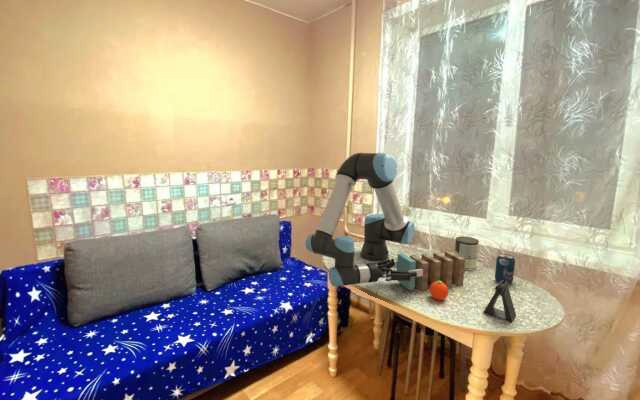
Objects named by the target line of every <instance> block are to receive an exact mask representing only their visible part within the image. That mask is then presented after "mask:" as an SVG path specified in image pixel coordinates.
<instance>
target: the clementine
mask: <svg viewBox="0 0 640 400" xmlns="http://www.w3.org/2000/svg"><path fill="white" fill-rule="evenodd" d="M448 288H449V287H447V286H446V285H445V284H444V283H443V282H442V281H436V282H434V283H432V284H431V286H429V293H430V295H431V297H433V299H435V300H437V301H438V300H439V301H442V300H444V299H446V298H447V296H448V295H449V289H448Z"/></svg>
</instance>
